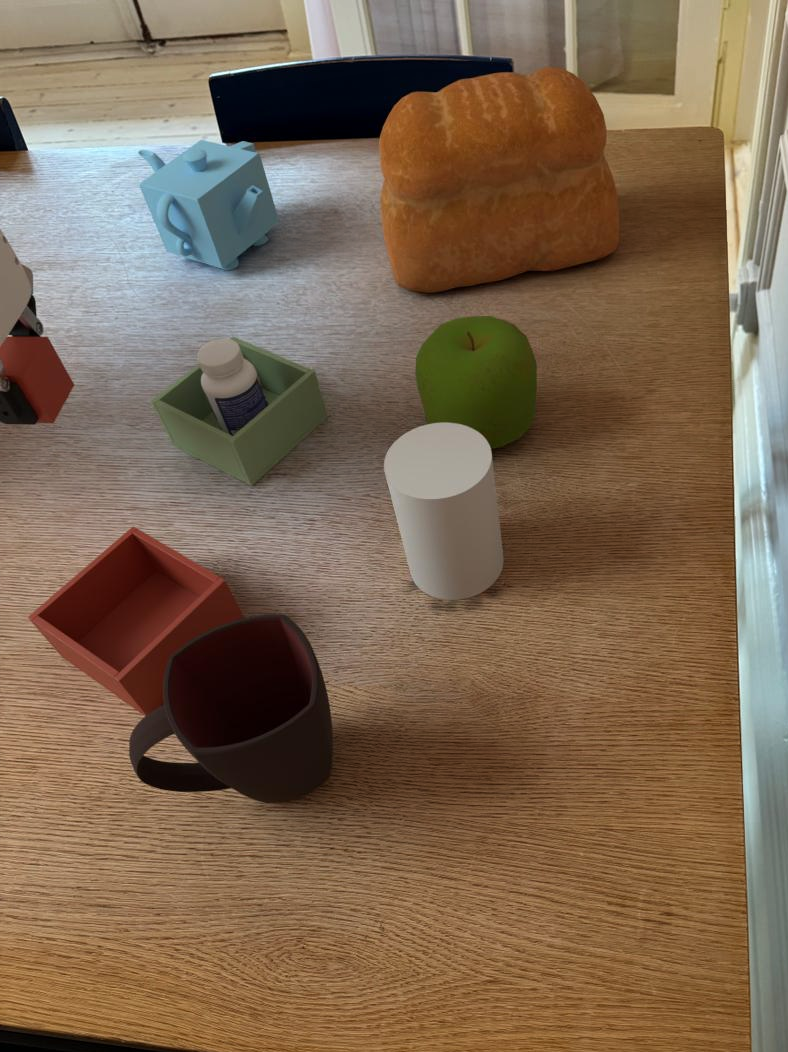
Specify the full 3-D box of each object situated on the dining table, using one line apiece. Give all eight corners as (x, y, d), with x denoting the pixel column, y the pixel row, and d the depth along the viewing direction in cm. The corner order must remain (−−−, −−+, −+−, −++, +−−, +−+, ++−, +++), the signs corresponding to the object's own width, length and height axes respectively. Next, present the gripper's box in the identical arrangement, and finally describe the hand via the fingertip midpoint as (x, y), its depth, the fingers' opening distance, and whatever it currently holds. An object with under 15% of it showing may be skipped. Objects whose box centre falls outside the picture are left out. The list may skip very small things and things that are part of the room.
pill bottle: (285, 419, 88) (258, 343, 80) (249, 451, 85) (219, 377, 78) (246, 402, 90) (217, 327, 83) (211, 434, 88) (177, 359, 80)
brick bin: (61, 656, 74) (27, 617, 69) (159, 568, 79) (133, 525, 74) (149, 719, 70) (118, 681, 65) (247, 621, 74) (225, 579, 70)
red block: (-2, 423, 75) (-34, 375, 71) (21, 384, 78) (-8, 336, 74) (53, 423, 75) (24, 375, 70) (74, 384, 77) (48, 336, 73)
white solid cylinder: (518, 541, 76) (509, 436, 67) (479, 611, 72) (463, 510, 63) (435, 517, 79) (414, 413, 69) (393, 584, 75) (364, 483, 65)
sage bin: (172, 445, 88) (150, 401, 83) (250, 381, 93) (233, 336, 88) (251, 486, 84) (232, 442, 79) (329, 416, 88) (315, 371, 84)
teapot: (238, 298, 102) (204, 202, 92) (129, 263, 108) (86, 170, 99) (321, 227, 109) (296, 132, 100) (213, 198, 115) (181, 106, 106)
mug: (373, 794, 64) (335, 711, 54) (188, 871, 62) (114, 799, 52) (334, 689, 69) (293, 596, 60) (163, 756, 67) (92, 671, 58)
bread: (628, 263, 98) (636, 97, 84) (398, 307, 98) (366, 148, 84) (593, 192, 107) (595, 32, 93) (382, 232, 107) (352, 77, 93)
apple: (464, 484, 81) (449, 389, 72) (405, 423, 87) (384, 328, 78) (562, 431, 84) (559, 333, 75) (498, 375, 89) (489, 278, 81)
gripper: (-87, 131, 66) (31, 337, 81) (-209, 263, 57) (-49, 469, 71) (6, 128, 65) (108, 337, 80) (-101, 262, 56) (37, 471, 71)
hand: (33, 397), depth 76 cm, fingers closed on red block, 5 cm apart
